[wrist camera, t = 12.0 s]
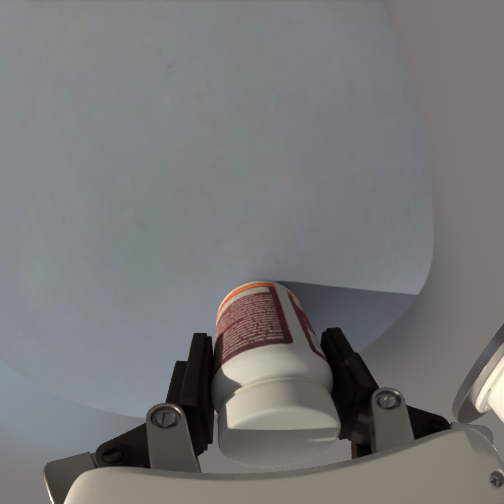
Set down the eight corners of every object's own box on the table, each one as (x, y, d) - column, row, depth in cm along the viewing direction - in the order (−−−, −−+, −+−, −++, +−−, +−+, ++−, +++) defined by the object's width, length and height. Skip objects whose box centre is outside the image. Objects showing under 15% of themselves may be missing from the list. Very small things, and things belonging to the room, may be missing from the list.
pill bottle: (206, 338, 15) (190, 463, 7) (234, 266, 14) (233, 384, 6) (281, 358, 16) (307, 475, 8) (315, 293, 15) (380, 405, 7)
